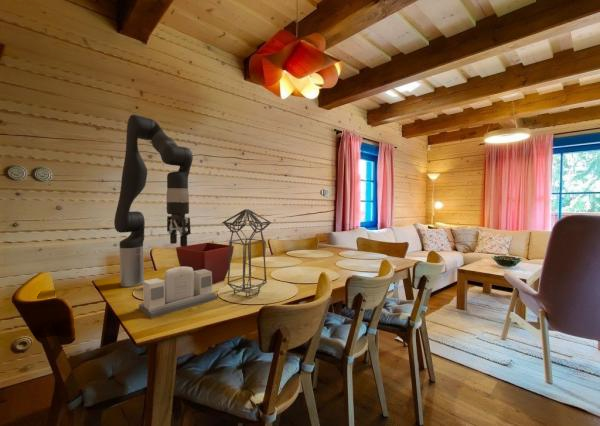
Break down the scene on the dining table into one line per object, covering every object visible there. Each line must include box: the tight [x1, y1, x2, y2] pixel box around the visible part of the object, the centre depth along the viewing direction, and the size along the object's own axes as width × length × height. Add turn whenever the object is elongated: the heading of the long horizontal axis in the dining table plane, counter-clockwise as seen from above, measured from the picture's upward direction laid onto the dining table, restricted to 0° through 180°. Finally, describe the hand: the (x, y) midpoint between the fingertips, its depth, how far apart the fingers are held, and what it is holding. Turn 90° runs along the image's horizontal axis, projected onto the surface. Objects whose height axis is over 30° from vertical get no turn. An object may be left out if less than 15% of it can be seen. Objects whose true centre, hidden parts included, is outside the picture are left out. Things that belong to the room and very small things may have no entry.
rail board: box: [138, 290, 218, 319], centre depth 105 cm, size 12×24×2 cm, turn 137°
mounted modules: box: [142, 269, 213, 309], centre depth 104 cm, size 6×23×9 cm, turn 137°
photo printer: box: [163, 266, 194, 303], centre depth 104 cm, size 10×4×12 cm, turn 126°
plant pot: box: [175, 242, 235, 285], centre depth 133 cm, size 19×19×17 cm
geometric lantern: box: [220, 208, 272, 298], centre depth 115 cm, size 16×16×35 cm
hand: (178, 244), depth 104 cm, fingers open, 8 cm apart
